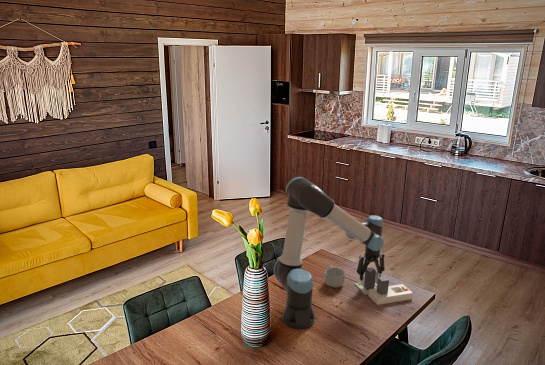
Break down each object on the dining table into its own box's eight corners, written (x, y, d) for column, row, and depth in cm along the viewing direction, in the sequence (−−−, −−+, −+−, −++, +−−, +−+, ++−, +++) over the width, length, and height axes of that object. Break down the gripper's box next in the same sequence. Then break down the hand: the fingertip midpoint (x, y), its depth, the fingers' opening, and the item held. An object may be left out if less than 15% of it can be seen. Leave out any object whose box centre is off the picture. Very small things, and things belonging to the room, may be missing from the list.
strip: (377, 305, 213) (379, 284, 210) (368, 296, 221) (370, 275, 218) (411, 299, 219) (414, 279, 215) (401, 290, 227) (404, 270, 224)
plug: (367, 290, 226) (369, 271, 223) (363, 286, 230) (365, 268, 226) (374, 289, 227) (376, 270, 224) (370, 285, 231) (372, 267, 228)
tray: (364, 295, 222) (364, 293, 222) (354, 284, 232) (355, 283, 232) (383, 292, 225) (383, 290, 225) (372, 282, 235) (373, 280, 235)
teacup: (345, 290, 226) (346, 276, 224) (325, 289, 226) (325, 276, 224) (341, 277, 240) (342, 264, 237) (322, 276, 240) (323, 263, 237)
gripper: (358, 250, 215) (355, 290, 221) (394, 245, 221) (390, 285, 227) (351, 244, 222) (348, 283, 228) (386, 240, 227) (382, 278, 234)
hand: (369, 284), depth 228 cm, fingers open, 8 cm apart
